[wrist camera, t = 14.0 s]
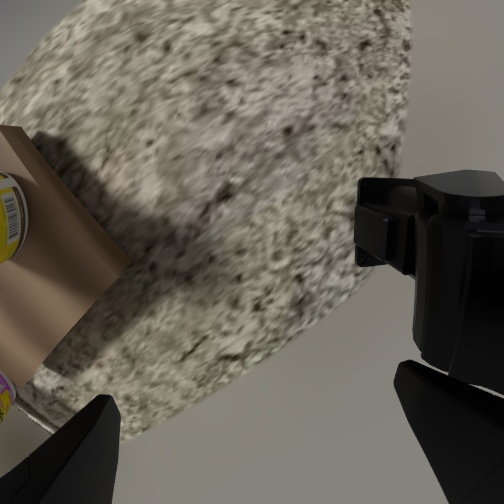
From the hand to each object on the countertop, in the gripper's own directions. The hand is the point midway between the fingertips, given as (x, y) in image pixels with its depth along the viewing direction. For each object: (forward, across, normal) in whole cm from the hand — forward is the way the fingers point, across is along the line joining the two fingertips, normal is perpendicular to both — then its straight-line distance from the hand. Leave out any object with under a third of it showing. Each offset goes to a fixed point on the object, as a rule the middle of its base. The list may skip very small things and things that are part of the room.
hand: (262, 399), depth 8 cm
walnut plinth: (+13, +17, -1) cm, 21 cm away
